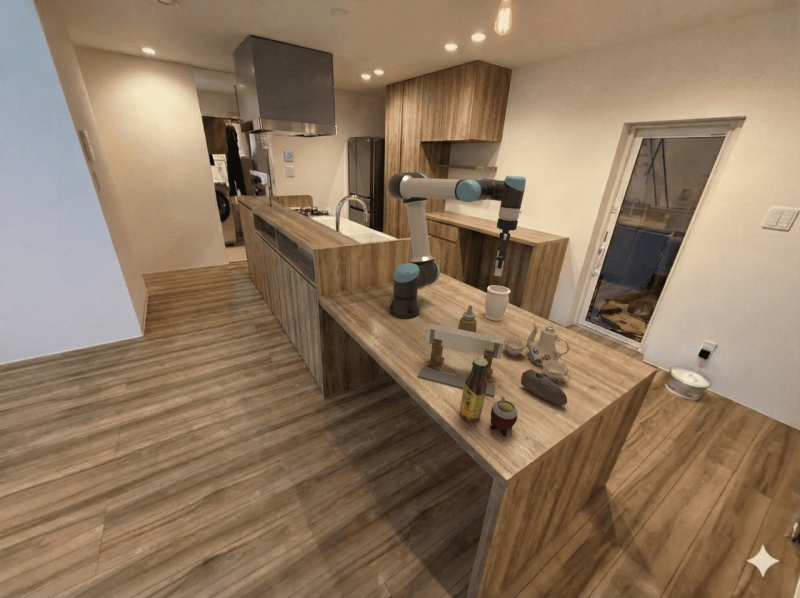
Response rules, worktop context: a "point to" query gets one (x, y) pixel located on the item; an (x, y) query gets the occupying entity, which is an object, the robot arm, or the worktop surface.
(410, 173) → the robot arm
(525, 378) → the perforated stone tool
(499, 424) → the mate gourd
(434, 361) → the standard left
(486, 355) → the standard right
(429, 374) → the mat
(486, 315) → the jar
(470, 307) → the squeeze bottle
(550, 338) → the chinaware
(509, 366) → the worktop surface
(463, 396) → the sauce bottle
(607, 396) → the worktop surface
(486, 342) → the rail
